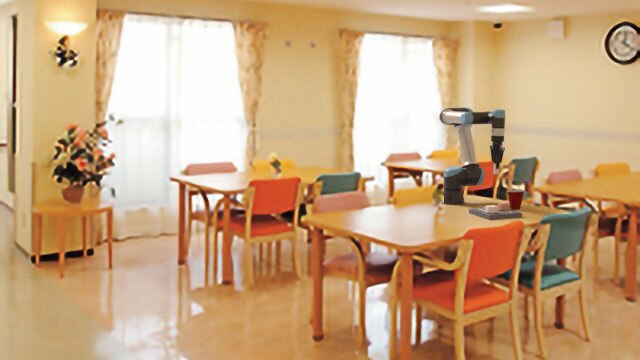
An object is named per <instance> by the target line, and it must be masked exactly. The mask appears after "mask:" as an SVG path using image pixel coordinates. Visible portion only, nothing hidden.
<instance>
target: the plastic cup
mask: <svg viewBox="0 0 640 360" xmlns="http://www.w3.org/2000/svg"><path fill="white" fill-rule="evenodd" d="M524 192H525V189H508V190H506V193H507V197H508V198H507V199H508V203H510V209H511V210H515V211H519V210H521V207H522V202H523V197H524Z"/></svg>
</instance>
